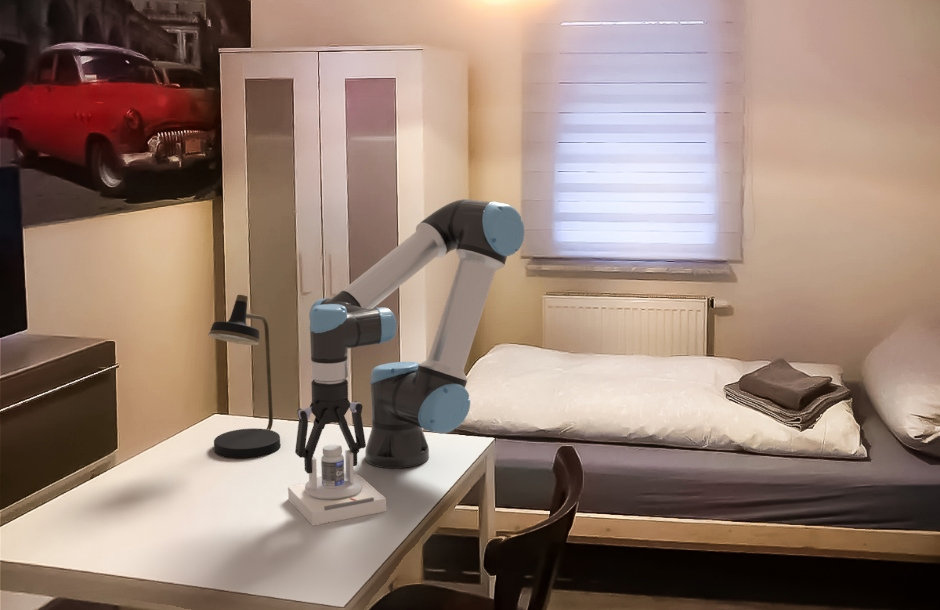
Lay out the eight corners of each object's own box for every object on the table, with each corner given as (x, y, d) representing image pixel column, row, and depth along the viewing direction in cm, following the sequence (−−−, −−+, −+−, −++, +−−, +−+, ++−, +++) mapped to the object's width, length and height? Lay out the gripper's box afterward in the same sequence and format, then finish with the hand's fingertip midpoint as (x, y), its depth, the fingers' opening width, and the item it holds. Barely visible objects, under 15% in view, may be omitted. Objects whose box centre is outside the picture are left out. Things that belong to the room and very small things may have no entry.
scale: (358, 486, 231) (357, 469, 230) (386, 511, 217) (385, 492, 216) (288, 499, 224) (287, 481, 223) (312, 525, 210) (312, 506, 209)
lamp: (198, 456, 250) (188, 299, 243) (244, 429, 271) (237, 283, 263) (257, 463, 245) (250, 303, 238) (300, 435, 266) (294, 287, 258)
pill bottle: (340, 489, 218) (339, 451, 216) (319, 488, 219) (317, 450, 217) (347, 481, 222) (346, 444, 221) (326, 480, 223) (325, 442, 222)
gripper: (368, 369, 224) (369, 471, 228) (276, 380, 215) (279, 485, 219) (381, 377, 217) (382, 481, 222) (287, 389, 208) (290, 497, 212)
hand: (331, 483), depth 220 cm, fingers open, 7 cm apart
